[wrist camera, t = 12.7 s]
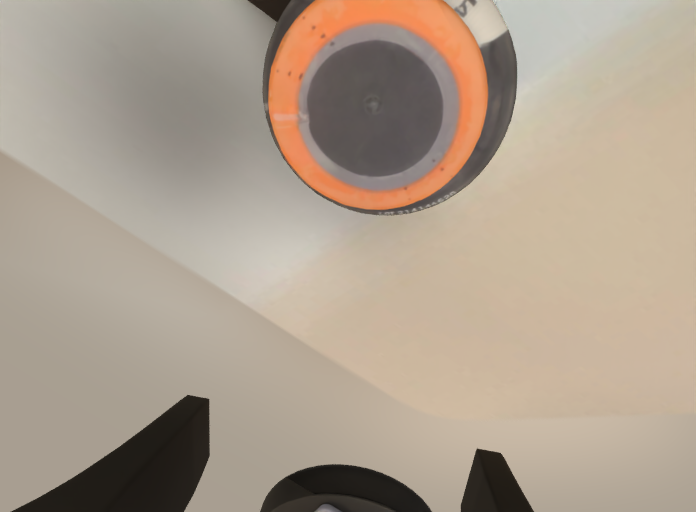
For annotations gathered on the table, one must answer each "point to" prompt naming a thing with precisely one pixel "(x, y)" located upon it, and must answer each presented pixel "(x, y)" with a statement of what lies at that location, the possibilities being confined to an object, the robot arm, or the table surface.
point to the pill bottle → (389, 97)
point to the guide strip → (271, 7)
